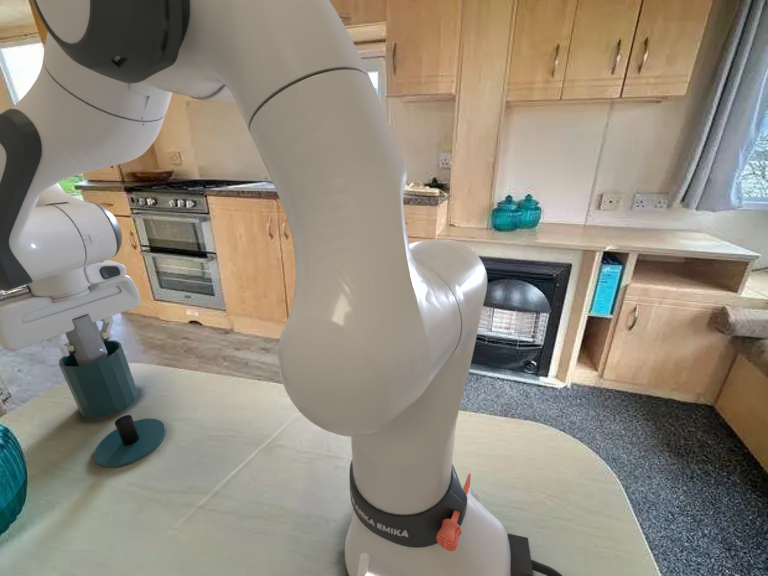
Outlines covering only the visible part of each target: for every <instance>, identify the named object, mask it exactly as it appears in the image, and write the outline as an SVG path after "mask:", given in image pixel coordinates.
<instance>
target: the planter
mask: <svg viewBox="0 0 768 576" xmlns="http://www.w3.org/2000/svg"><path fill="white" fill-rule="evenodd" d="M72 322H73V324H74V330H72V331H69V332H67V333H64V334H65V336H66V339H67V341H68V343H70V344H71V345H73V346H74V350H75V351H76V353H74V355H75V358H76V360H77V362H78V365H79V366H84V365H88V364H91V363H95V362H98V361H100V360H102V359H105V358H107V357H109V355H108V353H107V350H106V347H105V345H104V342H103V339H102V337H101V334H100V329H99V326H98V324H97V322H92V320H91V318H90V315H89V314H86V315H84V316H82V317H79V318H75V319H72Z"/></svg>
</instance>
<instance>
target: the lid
mask: <svg viewBox="0 0 768 576" xmlns="http://www.w3.org/2000/svg"><path fill="white" fill-rule="evenodd" d="M114 426H115V428H116V429H114V430H113V431H111V432H110V433H109V434H107V435H106V436H104V438H103V439H101V440H100V442H99V443H98V445H97V446H96V448H95V451H94V453H93V457H94V460H95V462H96V464H97V465H99V466H100V467H103V468H110V469H112V468H121V467H124V466H127V465H130V464H133V463H135V462H138V461H139V460H141V459H143V458H145V457H146V456H149V454H151V453H152V452H154V450H156V449H157V448H158V447H159V446H160V445H161V443H162V442H163V441H164V439H165V437H166V434H167V427H166V425H165V424H164V422H162V420H159V419H157V418H141V419H136V420H134V418H133V416H132V415H131V414H125V415H121V416H120V417H118V418H117V419H116V420H115V421H114Z"/></svg>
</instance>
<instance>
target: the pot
mask: <svg viewBox="0 0 768 576" xmlns="http://www.w3.org/2000/svg"><path fill="white" fill-rule="evenodd" d="M104 345H105V347H106V350H107V353H108V355H109V357H107V358H105V359H102V360H100V361H98V362H95V363H91V364H88V365H84V366H79V365H78V362H77V360H76V358H75V355H74V354H72V355H70V356H67V357H65V356H64V355H63V356H61V357H60V358H59V361H58V366H59V368H60V371H61V372H62V375H63V377H64V379H65V381H66V384H67V386H68V389H69V391H70V393H71V395H72V398H73V400H74V402H75V404H76V406H77V408H78V410H79V413H80V415H81V416H83V417H84V418H85V419H100V418H105V417H109V416H111V415H115V414H117V413H119V412H120V411H122V410H124V409H126V408H128V407H129V406H130V405H131V404H132V403H134V401H136V399H137V397H138V396H139V392H138V388H137V385H136V383H135V382H136V381H135V379H134V377H133V374H132V370H131V368H130V365H129V363H128V359H127V357H126V354H125V351H124V348H123V345H122V343H121V342H119V340H118V341H117V340H113V339H112V340H111V339H109V340H106V341H104Z"/></svg>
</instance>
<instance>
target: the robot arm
mask: <svg viewBox="0 0 768 576" xmlns="http://www.w3.org/2000/svg"><path fill="white" fill-rule="evenodd" d="M33 4H34V6H35V9H36V11H37V13H38V16H39V18H40V21H41V22H42V24H43V26H44V27H45V29H46V31H47V33H46V38H45V43H44V50H43V58H42V64H41V68H40V71H39V73H38V75H37V77H36V79H35V81H34V83H33V84H32V86H31V87H30V88H29V90H28V91H27V92H26V93H25V94H24V96H22V97H21V98H20V100H18V102H16V103H15V104H14V105H13V106H11V107H10V108H8V109H6V110H4V111H2V112H1V113H0V291H3V292H0V347H1V348H2V349H4V350H7V351H11V352H17V351H19V350H23V349H25V348H28V347H31V346H33V345H36V344H39V343H42V342H45V341H47V342H48V343H50V344H51V345H53V346H55V347H57V348H59V351H60V353H61V355H63V356H65V357H67V356H70V355H72V354H74V353H76V351H75V350H74V346H73V345H71V344H70V343H69V342H66V343H64V344H63V343H61V341H62V336H61V335H63V334H65V333H67V332H69V331H72V330H74V324H73V322H72V319H75V318H79V317H82V316H84V315H86V314H89V315H90V318H91V320H92V322H96V323H97V322H99V321H100V322H102V325H101V328H100V329H99V331H100V334H101V337H102V339H103V342H104V341H106V340H111V339H113V336H112V332H111V331H112V327H113V324H114V321H115V320H114V318H113V316H115V315H119V314H121V313H124V312H127V311H129V310H133V309H135V308H138V307H139V306H140V304H141V302H142V297H141V295H140V292H139V289H138V287H137V285H136V283H135V281H134V280H133V278H132V277H130V276H129V275H126V274H127V268H126V266H125V265H124V264H123V263H120V262H118V261H114V260H109V259H112V258H115V257H116V255H117V254H118V253H119V251H120V250H121V247H122V242H123V234H122V229H121V226H120V224H119V222H118V219H117V218H116V217H115V215H114V214H113V213H112V212H110V211H109V210H108V209H106V208H105V207H103V206H101V205H100V204H98V203H95V202H93V201H85V200H81V199H80V198H77V197H75V196H72V195H71V194H69V193H67V192H66V191H65V190H64V189H63V187H62V186H61V185H60V183H61V182H63V181H65V180H68V179H71V178H73V177H76V176H79V175H82V174H86V173H90V172H94V171H97V170H102V169H106V168H109V167H114V166H119V165H123V164H125V163H129V162H132V161H134V160H136V159H138V158H139V157H141V156H143V155H144V154H145V153H146V152H147V151H148V150H149V149H150V147H152V146H153V144H154V142H155V141H156V139H157V138H158V136H159V134H160V132H161V129H162V127H163V124H164V121H165V117H166V115H167V112H168V108H169V105H170V102H171V99H172V95H173V94H177V95H181V96H185V97H187V96H188V97H190V98H192V99H195V100H197V101H203V102H204V101H205V102H212V103H225V104H237V107H238V109H239V112H240V114H241V116H242V118H243V121H244V123H245V125H246V127H247V129H248V132H249V134H250V136H251V138H252V140H253V142H254V145H255V147H256V149H257V151H258V153H259V156H260V157H261V160H262V162H263V164H264V166H265V168H266V171H267V173H268V175H269V177H270V179H271V182H272V184H273V187H274V189H275V191H276V194H277V197H278V198H279V202H280V204H281V206H282V208H283V211H284V213H285V216H286V220H287V223H288V226H289V229H290V235H291V240H292V244H293V247H292V248H293V252H294V255H293V256H294V271H295V273H294V275H295V276H294V277H295V279H294V291H293V299H292V303H291V307H290V311H289V314H288V316H287V319H286V322H285V324H284V327H283V329H282V331H281V334H280V336H279V340H278V349H277V362H278V370H279V371H278V372H279V377H280V379H281V382H282V385H283V388H284V390H285V392H286V394H287V397H288V398H289V400H290V401H291V403H292V405H294V407H295V408H296V409H297V410H298V411H299V413H300V414H301V415H302V416H303V417H304V418H305V419H306V420H308V421H309V422H311V423H312V424H314V425H315V426H317V427H319V428H320V429H322V430H324V431H326V432H330V433H332V434H335V435H338V436H343V437H350V445H351V446H350V447H351V461H350V464H349V497H350V502H351V506H352V517H351V521H350V525H349V527H348V530H347V532H346V536H345V542H344V561H345V567H346V571H347V574H348V576H534V572H536V573H539V574H542V575H545V576H563V575H562V574H561V573H560V572H559V571H557V570H556V569H555V568H553V567H551V566H549V565H547V564H544V563H542V562H539V561H537V560H533V559H532V557H531V550H530V549H531V548H530V542H529V537H526V536H522V535H517V534H512V533H508V532H507V531H506V529H505V527H504V525H503V524H502V523H501V521H500V520H499V519H498V518H496V517H495V515H493V514H492V513H491V512H490V511H489V510H488V509H487V508H486V507H484V505H482V504H481V503H480V496H479V495H478V494H477V492H476V491H475V490H474V489H472V488H471V473H468V475H467V477H466V480H465V482H464V485H463V486H462V484H461V481H460V478H459V477H458V476H459V475H458V473H457V471H456V468H455V466H454V464H453V457H454V449H455V441H456V440H455V438H456V431H457V430H456V429H457V423H458V418H459V412H460V409H461V406H462V401H463V398H464V394H465V389H466V385H467V383H468V377H469V373H470V369H471V364H472V360H473V355H474V352H475V345H476V342H477V336H478V332H479V326H480V320H481V315H482V311H483V308H484V303H485V299H486V295H487V291H488V274H487V270H486V268H485V265H484V263H483V260H482V259H481V258H480V256H479V255H478V254H477V253H476V252H475V250H473V249H472V248H470V247H469V246H468V245H467V244H466V243H465V244H464V243H462V242H461V241H458V240H456V239H455V240H454V239H451V238H450V239H449V238H436V239H429V240H428V239H427V240H426V239H425V240H420V241H419V240H418V241H415V242H412V243H410V242H409V237H408V230H407V226H406V219H405V210H404V193H405V188H406V185H407V180H408V166H407V163H406V160H405V157H404V155H403V152H402V150H401V148H400V146H399V145H400V144H398V141H397V138H396V136H395V133H394V131H393V129H392V127H391V124H390V122H389V119H388V117H387V115H386V113H385V110H384V108H383V106H382V105H383V104H382V103H381V101H380V98H379V96H378V93H377V91H376V89H375V86H374V84H373V81H372V79H371V77H370V75H369V73H368V71H367V68H366V66H365V64H364V61H363V59H362V57H361V55H360V52H359V51H358V49H357V47H356V45H355V43H354V41H353V39H352V37H351V35H350V32H349V31H348V29H347V28H346V26H345V24H344V22H343V21H342V19H341V17H340V15H339V14H338V12H337V10H336V9H335V7H334V5H333V4H332V2H331V0H33Z"/></svg>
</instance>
